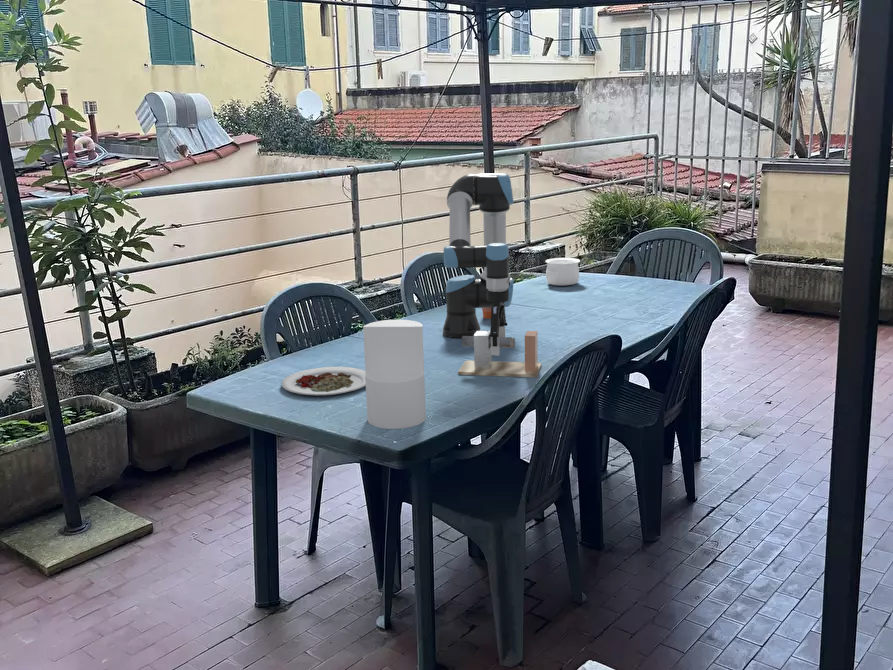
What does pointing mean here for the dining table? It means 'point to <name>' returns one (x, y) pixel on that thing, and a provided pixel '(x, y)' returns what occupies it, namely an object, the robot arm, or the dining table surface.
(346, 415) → the dining table surface
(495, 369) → the base board
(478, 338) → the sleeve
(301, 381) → the plated food
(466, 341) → the rod
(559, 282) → the pot
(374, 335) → the cylinder
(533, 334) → the tan upright block
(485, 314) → the cup with straw
